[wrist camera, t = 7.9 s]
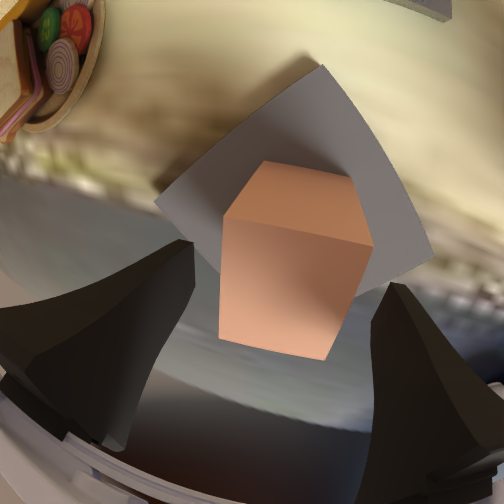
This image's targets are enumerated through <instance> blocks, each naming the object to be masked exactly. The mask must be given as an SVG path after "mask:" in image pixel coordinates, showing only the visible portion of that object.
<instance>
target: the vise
mask: <svg viewBox="0 0 504 504" xmlns="http://www.w3.org/2000/svg"><path fill="white" fill-rule="evenodd" d="M385 1H388V2H391V3H394V4H397V5H400V6H403V7H406V8H409V9H412V10H414V11H417V12H420V13H422V14H425V15H427V16H430V17H432V18H434V19H436V20H439V21H441V22H446V21H448V20H450V19H452V8H451V0H385Z"/></svg>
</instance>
